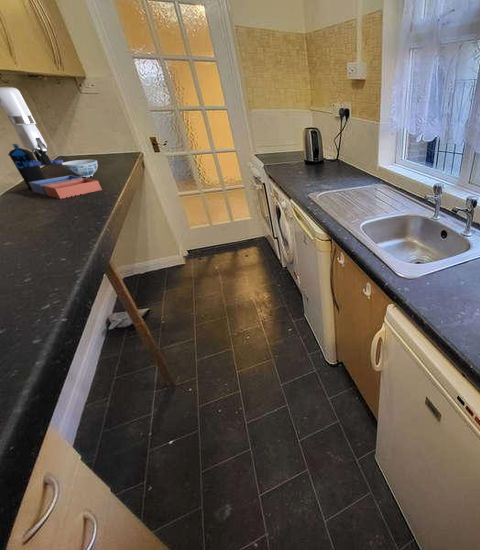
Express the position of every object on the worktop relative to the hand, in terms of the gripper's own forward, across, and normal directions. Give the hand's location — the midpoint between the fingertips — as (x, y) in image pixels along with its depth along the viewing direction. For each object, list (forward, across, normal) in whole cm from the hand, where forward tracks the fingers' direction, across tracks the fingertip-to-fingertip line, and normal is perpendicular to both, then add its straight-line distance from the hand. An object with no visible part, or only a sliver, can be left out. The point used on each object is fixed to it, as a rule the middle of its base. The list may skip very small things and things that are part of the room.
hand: (46, 164), depth 138 cm
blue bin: (+12, 0, +1) cm, 12 cm away
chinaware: (+12, -19, +21) cm, 31 cm away
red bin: (+12, +13, +1) cm, 18 cm away
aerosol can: (+12, -13, -2) cm, 18 cm away
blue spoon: (0, 0, +1) cm, 1 cm away
